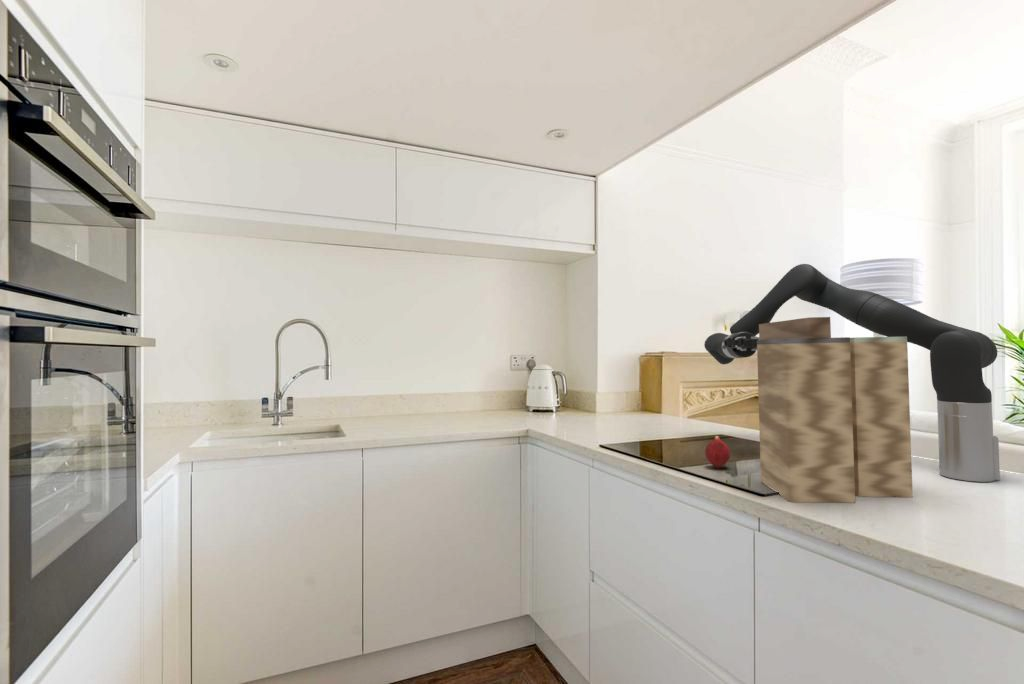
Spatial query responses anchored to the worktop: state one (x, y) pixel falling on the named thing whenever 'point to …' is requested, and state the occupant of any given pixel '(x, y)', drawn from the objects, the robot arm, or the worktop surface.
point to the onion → (717, 452)
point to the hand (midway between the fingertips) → (761, 341)
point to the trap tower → (806, 418)
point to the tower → (881, 417)
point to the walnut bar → (796, 329)
